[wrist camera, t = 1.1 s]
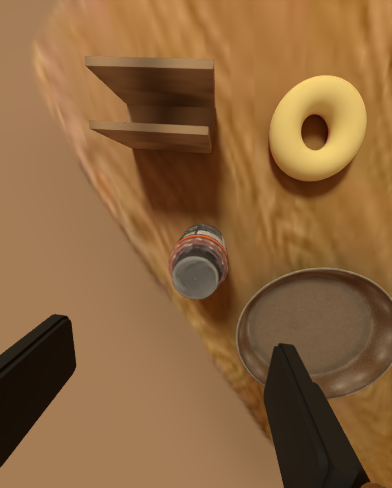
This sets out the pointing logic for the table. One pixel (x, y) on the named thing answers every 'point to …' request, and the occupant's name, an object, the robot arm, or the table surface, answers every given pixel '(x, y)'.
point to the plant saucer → (320, 328)
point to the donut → (338, 122)
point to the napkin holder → (159, 102)
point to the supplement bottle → (199, 262)
